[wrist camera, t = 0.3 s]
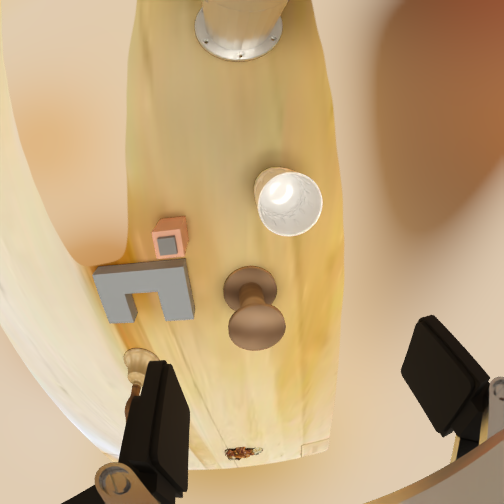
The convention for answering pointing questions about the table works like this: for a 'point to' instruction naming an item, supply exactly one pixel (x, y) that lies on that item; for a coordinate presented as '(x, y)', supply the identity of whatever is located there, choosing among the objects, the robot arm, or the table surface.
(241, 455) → the brown irregular lump
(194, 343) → the table surface
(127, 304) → the notch board
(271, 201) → the white cup
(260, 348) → the bobbin
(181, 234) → the copper brown square peg
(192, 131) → the table surface
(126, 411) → the hand bell
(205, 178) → the table surface
